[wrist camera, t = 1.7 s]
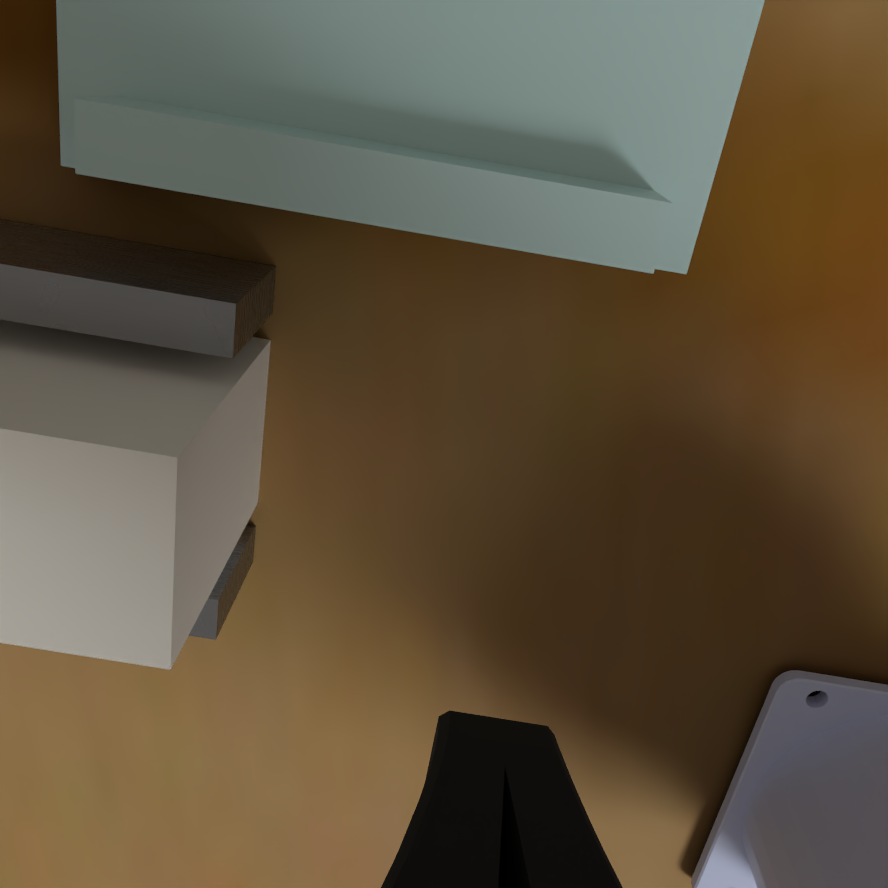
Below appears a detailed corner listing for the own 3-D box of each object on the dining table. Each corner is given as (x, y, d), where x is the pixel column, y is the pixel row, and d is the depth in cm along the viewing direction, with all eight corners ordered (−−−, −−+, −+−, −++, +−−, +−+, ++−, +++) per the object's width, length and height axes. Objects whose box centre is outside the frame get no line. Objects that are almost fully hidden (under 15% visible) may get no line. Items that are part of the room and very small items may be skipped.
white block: (271, 338, 18) (177, 457, 12) (258, 501, 19) (170, 669, 14) (-103, 275, 18) (-369, 367, 12) (-85, 444, 19) (-311, 593, 14)
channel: (276, 266, 17) (235, 303, 14) (252, 561, 20) (215, 639, 17) (-17, 216, 17) (-115, 243, 14) (3, 521, 20) (-74, 593, 17)
